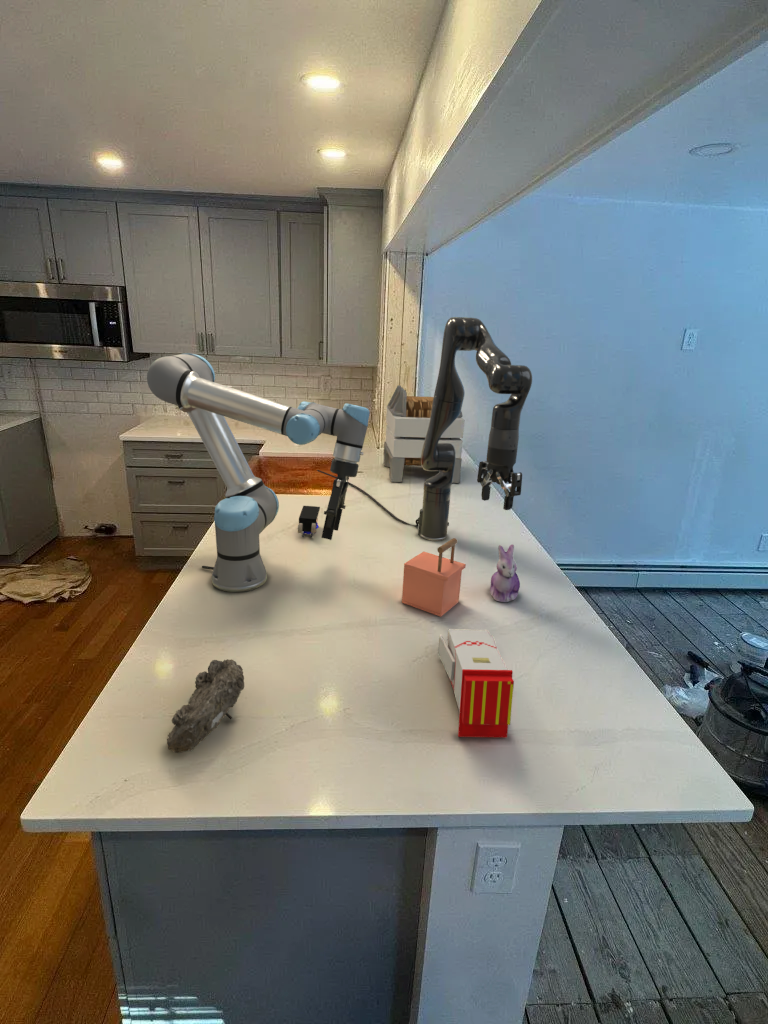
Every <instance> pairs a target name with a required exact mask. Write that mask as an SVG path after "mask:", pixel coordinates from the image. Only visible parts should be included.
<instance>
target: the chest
mask: <svg viewBox="0 0 768 1024" xmlns="http://www.w3.org/2000/svg"><path fill="white" fill-rule="evenodd" d="M462 573H463V570H462V571H460V572H459V573H458V574H456V575H455V576H454V577H452V578H451V579H450V580H448V581H446V580H443V579H440V578H437V577H434V576H430V575H427V574H424V573H421V572H418V571H415V570H412V569H409V568H406V567H404V566H403V577H402V593H401V594H402V595H401V603H402V604H404V605H407V606H410V607H413V608H416V609H417V610H420V611H423V612H427V613H429V614H431V615H435V616H438V617H440V618H442V617H443V616H444V615H445V614H446V613H447V612H449V611H450V610H451V609H452V608H453V607H455V606H456V605H457V604H458V603H459V602H460V593H461V584H462V583H461V582H462Z"/></svg>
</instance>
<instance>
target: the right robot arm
mask: <svg viewBox="0 0 768 1024" xmlns="http://www.w3.org/2000/svg"><path fill="white" fill-rule="evenodd" d="M457 351H461V352H471V351H476V353H475V362H476V365H477V366H478V368H479V369H480V370H481V371H482V373H483V374H485V376H486V379H487V384H488V387H489V390H490V391H492V392H493V393H495V394H498V395H510V396H509V397H508V399H507V400H505V401H504V402H499V403H496V404H495V405H493V407H492V413H491V421H490V429H489V434H488V442H487V450H486V460H483V461H481V460H480V461H479V463H478V470H477V477H476V483H478V484H480V486H481V493H480V496H481V500H482V501H489V500H490V497H491V488H492V487H491V485H492V484H493V483H496V484H497V485H499V486H500V488H501V489H502V490H503V493H504V497H503V499H504V500H503V507H502V509H503V510H504V511H510V510H511V509H512V508H513V507H514V497H518V496H521V494H522V485H523V484H522V483H523V472H515V471H514V466H515V464H516V463H517V456H518V447H519V439H520V423H521V414H522V411H523V409H524V407H525V403H526V400H527V399H528V396H529V393H530V391H531V387H532V385H533V373H532V370H531V369H530V368H529V367H528V366H527V365H523V364H512V361H511V359H510V358H509V356H508V355H507V354H506V353H505V352H504V351H503V350H502V349H500V348H499V346H498V345H497V344H496V343H495V341H494V339H493V337H492V335H491V333H490V332H489V330H488V329H487V326H486V325H485V323H484V322H483V321H482V320H481V319H479V318H477V317H467V316H466V317H465V316H464V317H462V316H452V317H449V318H448V320H447V321H446V323H445V326H444V331H443V335H442V345H441V352H440V353H441V354H440V363H439V368H438V369H439V370H438V375H437V380H436V384H435V388H434V392H433V397H434V398H433V404H432V410H431V416H430V422H429V426H428V430H427V434H426V437H425V441H424V444H423V448H422V453H421V465H422V466H421V467H422V469H423V470H424V471H427V472H438V473H436V474H435V475H433V476H431V477H428V478H427V479H425V480H424V482H423V493H422V496H423V497H422V506H421V508H420V509H419V516H418V517H417V518H416V520H415V524H411V523H408V522H407V521H404V520H402V519H400V518H399V517H397V516H395V514H393V513H392V512H391V511H390V510H388V509H387V508H386V507H384V505H382V504H381V503H380V502H379V501H377V499H375V498H374V497H373V496H372V495H370V494H369V493H367V492H366V491H365V490H363V489H362V488H360V487H359V486H357V485H355V484H353V483H351V482H349V486H352V487H354V488H355V489H357V490H359V491H360V492H362V493H363V494H365V495H366V496H367V497H369V498H370V499H371V500H372V501H374V503H376V505H378V506H379V507H380V508H381V509H383V510H384V512H386V513H387V514H389V515H390V516H391V517H392V518H393V519H395V520H396V521H398V522H400V523H402V524H404V525H406V526H407V525H408V526H412V527H414V528H418V530H417V535H418V536H420V538H421V539H424V540H426V541H432V542H440V541H444V540H446V539H447V538H448V527H449V526H450V522H449V517H450V516H449V514H450V504H451V494H452V493H451V491H452V485H453V483H452V481H453V473H454V466H455V448H454V446H453V445H452V444H450V443H438V442H439V439H440V437H441V436H442V434H443V433H444V431H445V430H446V429H447V428H448V427H449V426H450V425H451V424H452V423H453V422H454V421H455V419H456V418H457V417H458V416H459V414H460V412H462V407H463V403H464V399H465V387H464V384H463V381H462V380H461V377H460V375H459V372H458V370H457V367H456V356H457V355H456V354H457ZM316 471H317V472H318V473H321V474H324V475H327V476H329V477H331V478H334V479H337V476H335V475H333V474H330V473H328V472H326V471H322V470H320V469H316Z"/></svg>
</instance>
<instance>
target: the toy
mask: <svg viewBox="0 0 768 1024" xmlns="http://www.w3.org/2000/svg"><path fill="white" fill-rule="evenodd" d="M446 640H447V643H446V641H445V639H444V636H443V635H442V634H439V637H438V646H437V656H438V657H439V659H440V661H441V663H442V666H443V668H444V670H445V672H446V674H447V677H448V679H449V681H450V684H451V687H452V690H453V693H454V697H455V701H456V705H457V708H458V711H459V714H458V715H459V716H458V730H457V731H458V732H457V737H458V738H508V731H509V726H510V725H511V717H512V707H513V697H514V696H513V695H514V684H515V680H514V679H513V673H514V671H513V670H512V669H508V667H507V665H506V662H505V661H504V659H503V658H502V655H501V653H500V651H499V649H498V647H497V643H496V639H495V637H494V635H493V634H491V632H490V631H489V629H467V628H466V629H465V628H463V629H461V628H460V629H459V628H448V630H447V639H446Z"/></svg>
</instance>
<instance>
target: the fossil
mask: <svg viewBox="0 0 768 1024" xmlns="http://www.w3.org/2000/svg"><path fill="white" fill-rule="evenodd" d="M243 670H244V669H243V667H242V665H240V664H237V662H236V661H235V660H234V659H232V658H231V659H227V658H226V659H224V660H223V661H222V660H217V659H212V660H211V661H210V663H209V665H208V666H207V671H201V672H199V673H198V674H197V675H196V676H195V680H194V684H195V685H194V687H195V689H194V690H193V693H192V694H191V697H190V698H189V700H188V704H184V705H182V706H181V707H180V709H177V710H176V711H175V713H174V715H173V716H172V718H171V723H172V724H173V727H172V730H171V731H170V732H168V734H167V738H166V741H167V742H166V745H167V749H168V750H169V751H173V752H174V753H176V754H178V753H182V752H188V751H189V752H192V751H193V750H195V748H196V747H197V746H199V744H200V743H201V742H203V741H204V740H205V739H206V738H207V737H208V736H209V735H210V734H211V733H212V732H214V730H215V729H217V727H218V726H219V724H220V722H221V721H222V720H223V719H224V718H225V716H226V717H227V719H229V720H233V717H232V715H230V714H229V710H230V709H231V708H234V706H235V704H236V703H237V702H238V699H239V697H240V695H241V693H242V691H243V690H245V689H244V688H245V675H244V671H243Z"/></svg>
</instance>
